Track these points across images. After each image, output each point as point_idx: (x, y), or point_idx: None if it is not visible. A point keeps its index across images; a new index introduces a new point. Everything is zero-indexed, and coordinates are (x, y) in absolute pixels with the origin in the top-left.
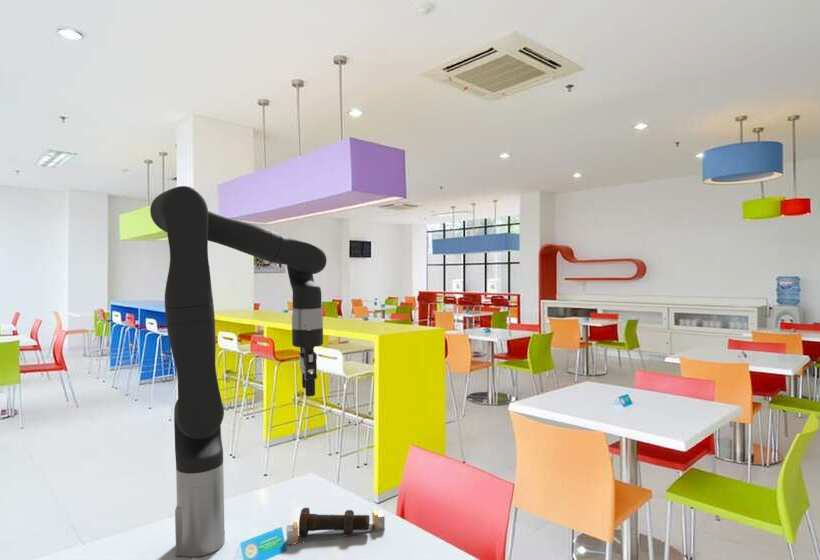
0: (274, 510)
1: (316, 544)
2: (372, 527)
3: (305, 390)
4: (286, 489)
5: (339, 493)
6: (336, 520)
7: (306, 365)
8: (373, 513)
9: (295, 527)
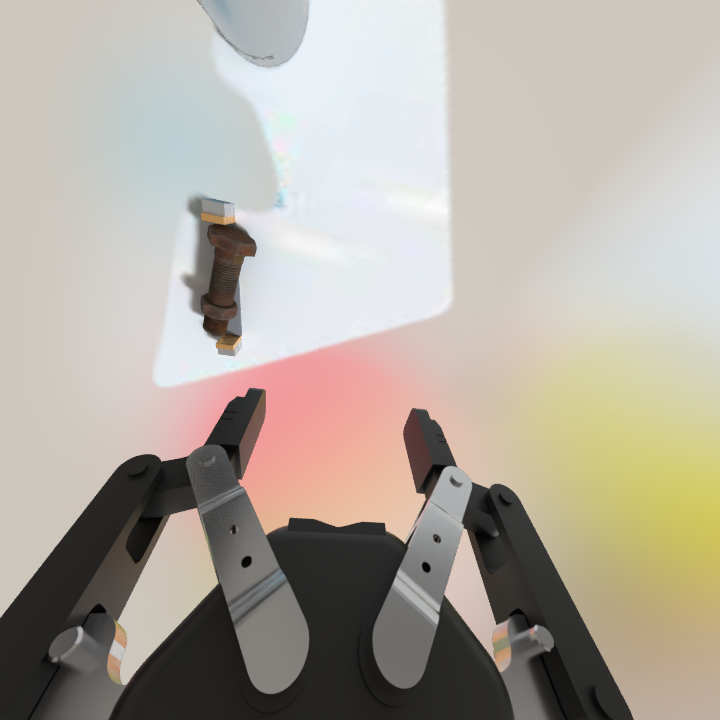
0: (349, 211)
1: (206, 246)
2: (230, 333)
3: (255, 402)
4: (421, 256)
5: (357, 329)
6: (210, 289)
7: (33, 584)
8: (225, 344)
9: (201, 215)
